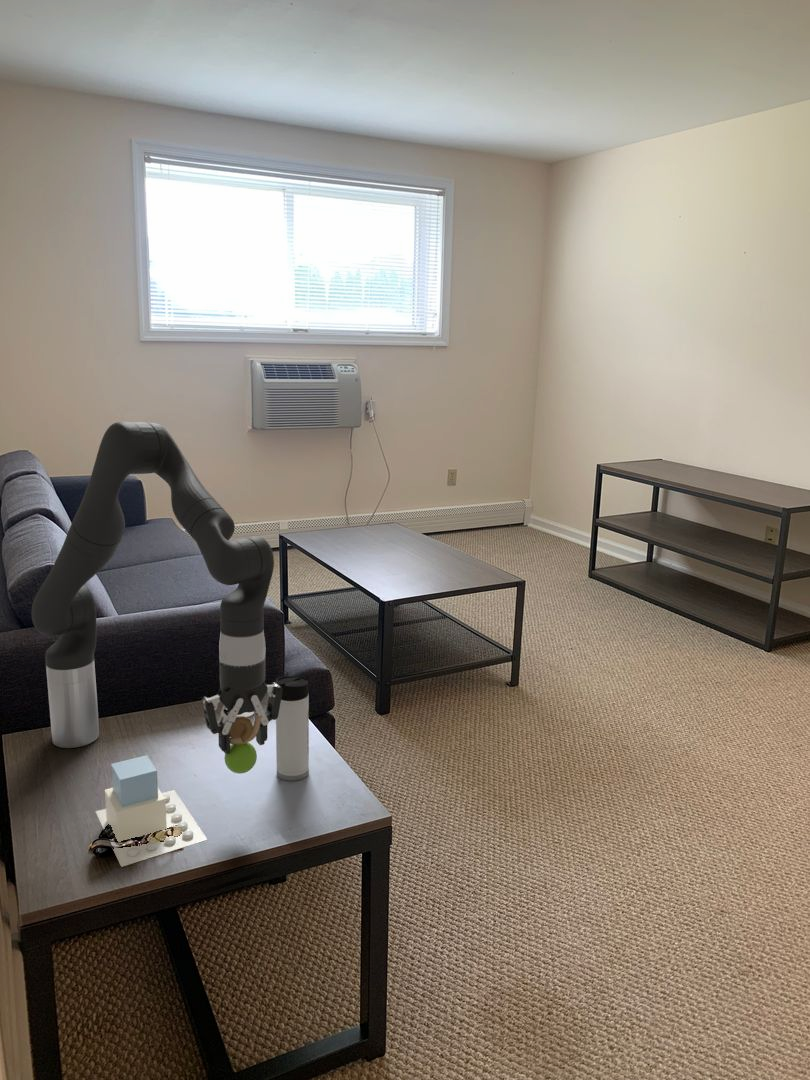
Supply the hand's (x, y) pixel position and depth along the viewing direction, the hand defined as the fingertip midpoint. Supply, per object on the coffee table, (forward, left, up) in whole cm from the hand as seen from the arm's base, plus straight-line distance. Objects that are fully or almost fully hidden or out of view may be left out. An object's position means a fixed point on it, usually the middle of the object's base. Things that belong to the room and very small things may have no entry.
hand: (243, 747), depth 137 cm
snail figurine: (0, 0, -5) cm, 5 cm away
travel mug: (-11, +14, -15) cm, 23 cm away
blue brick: (-7, -17, -7) cm, 20 cm away
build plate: (-6, -15, -14) cm, 22 cm away
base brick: (-7, -17, -13) cm, 23 cm away
